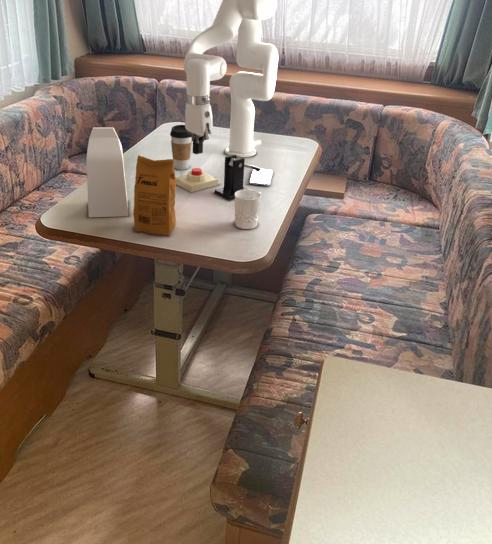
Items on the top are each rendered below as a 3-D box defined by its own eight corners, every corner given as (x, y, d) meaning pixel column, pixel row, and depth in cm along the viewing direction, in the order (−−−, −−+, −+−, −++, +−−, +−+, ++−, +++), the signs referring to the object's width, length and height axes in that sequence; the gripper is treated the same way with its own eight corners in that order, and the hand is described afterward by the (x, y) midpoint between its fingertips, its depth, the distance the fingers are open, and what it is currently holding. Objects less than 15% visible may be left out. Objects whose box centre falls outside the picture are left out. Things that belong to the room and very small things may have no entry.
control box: (200, 176, 210) (201, 165, 208) (218, 184, 204) (218, 174, 202) (174, 183, 203) (174, 172, 201) (191, 192, 197) (191, 181, 195)
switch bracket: (236, 186, 203) (238, 151, 196) (251, 194, 197) (254, 158, 191) (214, 193, 197) (215, 157, 191) (229, 200, 192) (231, 163, 185)
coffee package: (141, 218, 177) (139, 149, 166) (180, 224, 175) (180, 154, 164) (129, 232, 169) (125, 160, 158) (169, 238, 166) (168, 165, 155)
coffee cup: (193, 163, 221) (194, 125, 214) (190, 171, 214) (191, 131, 207) (172, 162, 222) (172, 123, 214) (168, 170, 215) (168, 130, 207)
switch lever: (249, 169, 201) (251, 162, 201) (259, 173, 198) (261, 166, 197) (225, 163, 193) (227, 156, 192) (235, 167, 189) (237, 160, 189)
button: (197, 171, 204) (197, 167, 203) (203, 174, 202) (203, 170, 201) (189, 173, 202) (189, 169, 201) (195, 177, 200) (195, 172, 199)
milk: (88, 217, 177) (81, 134, 164) (90, 202, 186) (83, 122, 173) (128, 216, 178) (124, 133, 165) (127, 201, 188) (123, 122, 175)
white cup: (231, 219, 179) (233, 189, 174) (256, 219, 180) (259, 189, 175) (234, 230, 172) (236, 199, 167) (260, 230, 173) (263, 199, 168)
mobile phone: (248, 181, 204) (253, 167, 217) (248, 184, 205) (253, 170, 217) (269, 183, 203) (273, 169, 216) (269, 186, 204) (273, 171, 217)
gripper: (221, 102, 186) (220, 156, 196) (193, 92, 196) (193, 144, 205) (203, 106, 182) (202, 161, 191) (175, 96, 192) (176, 149, 201)
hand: (197, 152), depth 198 cm, fingers closed
